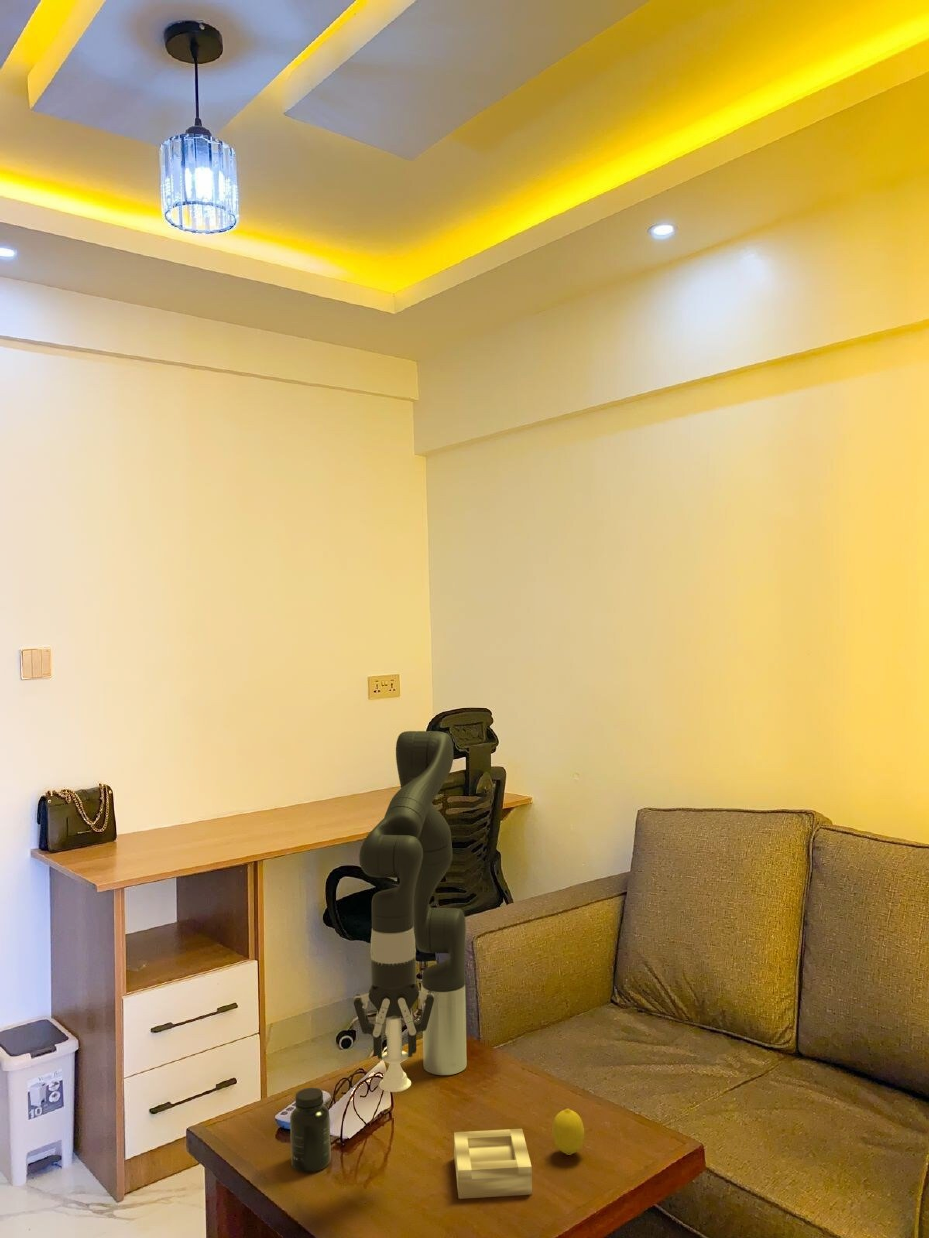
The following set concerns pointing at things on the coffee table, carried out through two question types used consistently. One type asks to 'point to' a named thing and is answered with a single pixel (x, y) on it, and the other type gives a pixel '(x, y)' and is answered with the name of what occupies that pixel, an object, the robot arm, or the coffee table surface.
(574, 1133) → the lemon
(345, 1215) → the coffee table surface
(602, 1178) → the coffee table surface
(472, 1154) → the birch plinth
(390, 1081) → the candle
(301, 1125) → the supplement bottle
